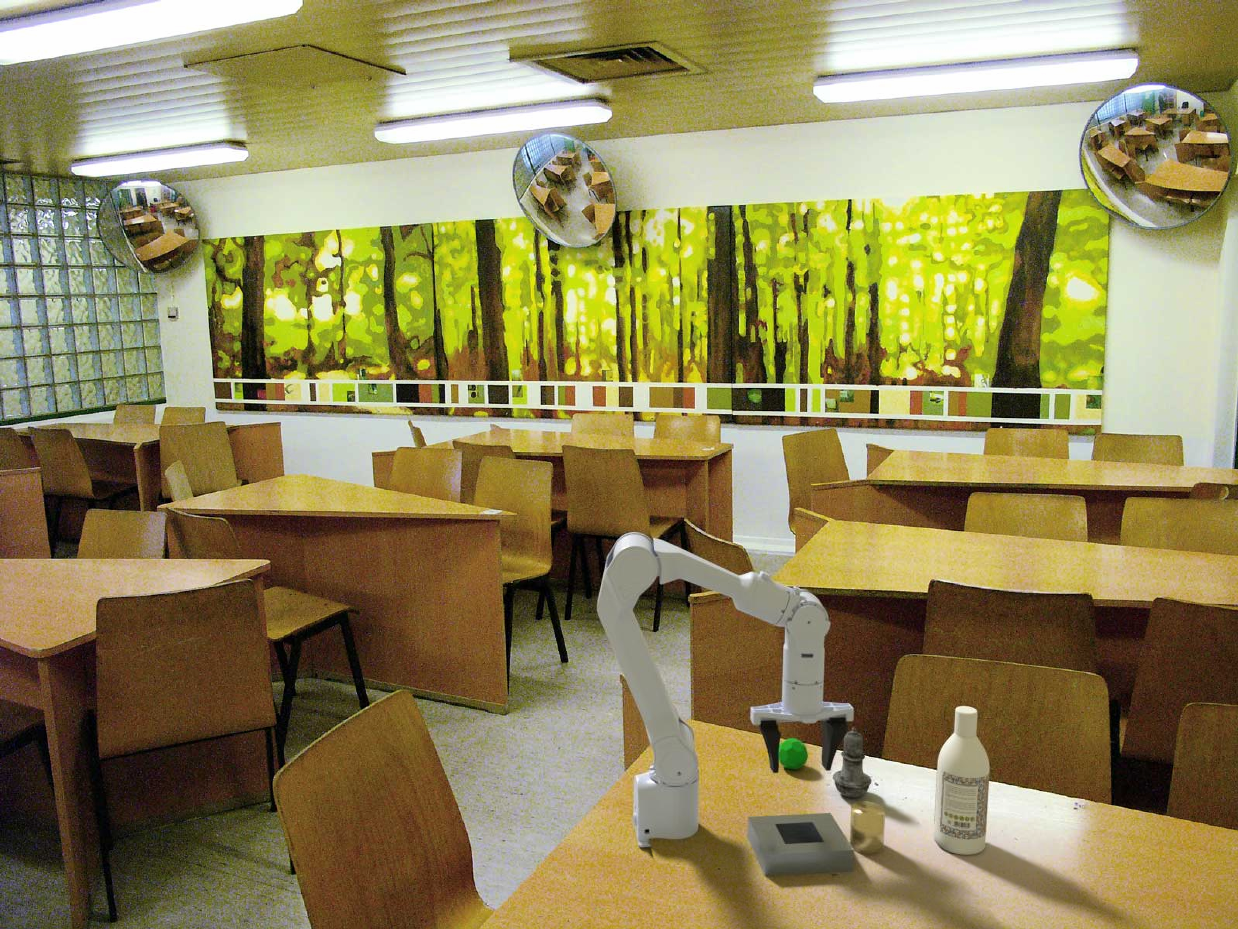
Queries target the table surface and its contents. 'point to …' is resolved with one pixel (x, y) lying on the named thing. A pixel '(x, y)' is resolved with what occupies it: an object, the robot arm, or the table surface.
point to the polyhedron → (792, 753)
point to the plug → (867, 828)
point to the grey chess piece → (852, 767)
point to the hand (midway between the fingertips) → (800, 768)
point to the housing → (799, 844)
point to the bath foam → (962, 788)
